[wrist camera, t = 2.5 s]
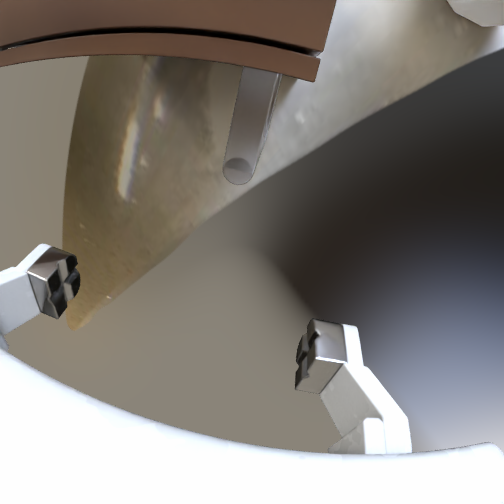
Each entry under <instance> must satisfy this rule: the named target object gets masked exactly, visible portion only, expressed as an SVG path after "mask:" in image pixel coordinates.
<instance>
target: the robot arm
mask: <svg viewBox="0 0 504 504" xmlns="http://www.w3.org/2000/svg"><path fill="white" fill-rule="evenodd" d="M77 264H78V263H77V258H76V256H75V255H74V254H72V253H69V252H66V251H64V250H61V249H58V248H55V247H52V246H49V245H47V244H44V243H43V244H40V245H38V247H36V248H35V249H34V250H33V251H32V252H31V253H30V254H29V255H28V256H27V257H26V258H25V259H24V260H23V261H22V262H21V263H20V264H19V265H18V266H17V267H16V268H14V267H11V268H9V269H6V270H4V271H1V272H0V504H504V454H503V452H502V451H501V450H500V449H499V448H498V447H497V446H496V445H495V444H494V443H491V442H485V443H480V444H475V445H470V446H464V447H458V448H451V449H444V450H435V451H426V452H415V453H413V452H412V445H411V437H410V430H409V423H408V418H407V417H406V415H405V414H404V413H403V411H402V410H401V409H400V407H398V405H397V404H396V403H395V401H394V400H393V399H392V397H391V396H390V395H389V393H388V392H387V391H386V390H385V388H384V387H383V386H382V385H381V383H380V382H379V381H378V380H377V378H376V377H375V376H374V375H373V373H372V372H371V371H370V369H369V368H368V367H364V366H363V360H362V352H361V346H360V340H359V334H358V329H357V327H356V326H350V325H345V324H339V323H334V322H329V321H324V320H319V319H314V318H313V319H312V320H310V322H309V324H308V326H307V333H306V334H304V335H303V336H302V338H301V340H300V342H299V345H298V349H297V356H296V362H297V364H298V365H299V368H298V370H297V371H296V378H295V390H300V391H305V392H310V393H316V394H320V395H319V396H320V398H321V400H322V401H323V403H324V405H325V407H326V409H327V411H328V413H329V414H330V416H331V418H332V420H333V422H334V424H335V426H336V427H337V429H338V431H339V433H340V435H341V437H342V438H341V439H340V440H339V441H337V442H336V443H335V444H334V445H332V446H331V447H330V448H328V453H317V452H305V451H295V450H286V449H279V448H271V447H265V446H258V445H253V444H247V443H241V442H236V441H231V440H226V439H222V438H217V437H213V436H208V435H204V434H200V433H196V432H193V431H189V430H185V429H182V428H178V427H175V426H171V425H168V424H165V423H161V422H158V421H155V420H152V419H149V418H146V417H143V416H140V415H137V414H134V413H132V412H129V411H126V410H123V409H121V408H118V407H116V406H113V405H111V404H108V403H106V402H103V401H101V400H99V399H96V398H94V397H91V396H89V395H87V394H85V393H83V392H80V391H78V390H76V389H74V388H72V387H70V386H68V385H66V384H64V383H62V382H60V381H58V380H56V379H54V378H52V377H50V376H48V375H46V374H44V373H42V372H41V371H39V370H37V369H35V368H33V367H32V366H30V365H28V364H26V363H25V362H23V361H21V360H19V359H18V358H16V357H15V356H13V355H11V354H10V353H8V352H7V350H8V348H9V347H8V344H7V342H6V340H5V338H4V335H6V334H7V333H9V332H11V331H12V330H14V329H16V328H17V327H19V326H21V325H22V324H24V323H25V322H27V321H29V320H30V319H32V318H33V317H35V316H37V315H39V314H40V313H41V312H42V313H44V314H46V315H49V316H51V317H53V318H56V319H59V317H60V316H61V315H62V313H63V312H64V311H65V309H66V308H67V301H69V300H71V299H73V298H74V297H75V296H76V294H77V293H78V290H79V287H80V274H79V272H78V271H77V269H76V268H75V267H76V266H77Z"/></svg>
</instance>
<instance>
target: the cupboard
mask: <svg viewBox="0 0 504 504" xmlns="http://www.w3.org/2000/svg"><path fill="white" fill-rule="evenodd" d="M335 4H336V0H0V49H4V48H11V47H19V46H23V45H28V44H33V43H38V42H43V41H49V40H55V39H62V38H69V37H78V36H87V35H99V34H116V33H168V34H186V35H198V36H208V37H217V38H225V39H232V40H239V41H245V42H251V43H256V44H261V45H267V46H271V47H276V48H281V49H285V50H289V51H293V52H297V53H301V54H305V55H309V56H313V57H316V56H318V55H319V54H320V53H321V52H323V50H324V46H325V42H326V38H327V35H328V31H329V27H330V23H331V19H332V15H333V11H334V8H335Z"/></svg>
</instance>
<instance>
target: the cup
mask: <svg viewBox="0 0 504 504" xmlns="http://www.w3.org/2000/svg"><path fill="white" fill-rule="evenodd" d="M447 1H448V3H449V4H450V6H451V7H452V9H453V10H454V11H455V12H456V13H457V14H459V15H461V16H463V17H465V18H467V19H469V20H471V21H473V22H475V23H477V24H478V25H480V26H482V27H486V26H499V25H504V0H447Z"/></svg>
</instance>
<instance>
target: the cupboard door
mask: <svg viewBox="0 0 504 504" xmlns="http://www.w3.org/2000/svg"><path fill="white" fill-rule="evenodd" d="M95 55H145V56H164V57H177V58H188V59H197V60H206V61H213V62H220V63H227V64H233V65H239V66H244V67H243V71H242V76H241V80H240V85H239V89H238V94H237V98H236V103H235V108H234V113H233V117H232V122H231V127H230V132H229V137H228V142H227V147H226V152H225V158H224V163H223V174H224V177H225V178H226V179H227V180H228V181H229V182H230V183H232V184H236V185H242V184H245V183H247V182H248V181H249V180H250V179H251V178H252V176H253V173H254V171H255V168H256V165H257V162H258V160H259V157H260V154H261V152H262V149H263V146H264V144H265V141H266V138H267V134H268V130H269V126H270V122H271V118H272V114H273V110H274V105H275V101H276V97H277V93H278V89H279V85H280V81H281V77H282V75H287V76H291V77H295V78H298V79H302V80H306V81H310V82H315V79H316V75H317V71H318V67H319V64H320V59H319V58H316V57H313V56H309V55H305V54H301V53H297V52H293V51H289V50H285V49H281V48H276V47H271V46H267V45H261V44H256V43H251V42H245V41H239V40H232V39H225V38H217V37H208V36H198V35H186V34H168V33H116V34H99V35H87V36H78V37H69V38H62V39H55V40H49V41H43V42H38V43H33V44H28V45H23V46H19V47H15V48H11V49H7V50H3V51H0V67H3V66H8V65H13V64H19V63H25V62H31V61H38V60H45V59H55V58H65V57H77V56H95Z"/></svg>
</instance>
